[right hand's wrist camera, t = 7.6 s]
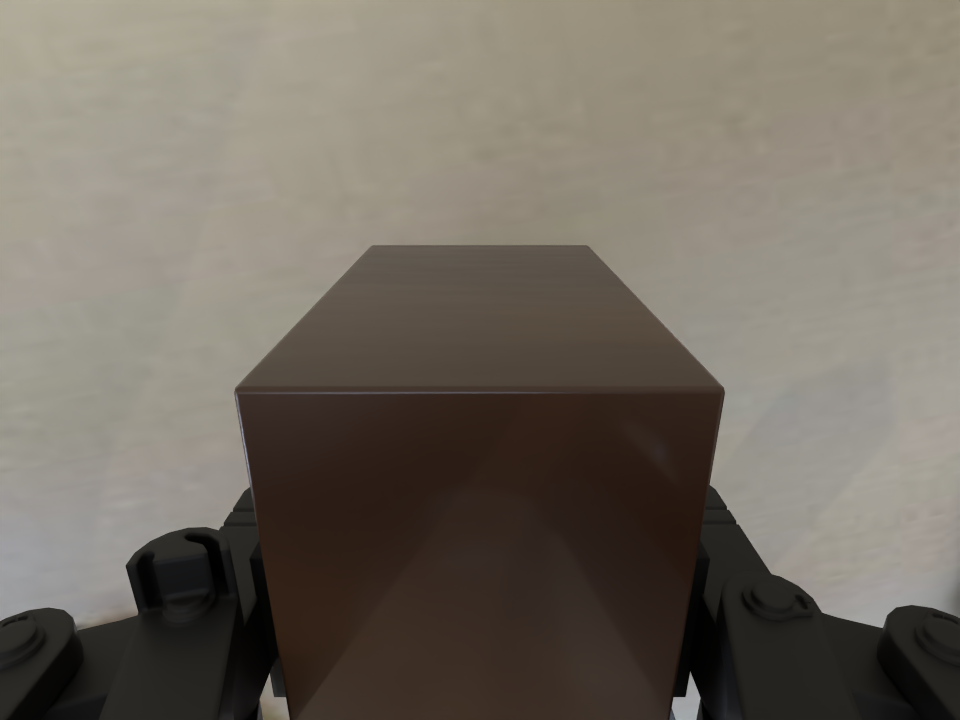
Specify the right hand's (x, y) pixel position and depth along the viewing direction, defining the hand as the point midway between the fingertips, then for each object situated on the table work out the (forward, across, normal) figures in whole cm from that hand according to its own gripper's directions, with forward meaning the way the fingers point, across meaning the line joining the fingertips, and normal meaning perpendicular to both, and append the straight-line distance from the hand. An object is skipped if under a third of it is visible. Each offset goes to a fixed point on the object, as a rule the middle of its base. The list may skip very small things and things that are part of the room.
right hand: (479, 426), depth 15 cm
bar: (0, 0, +8) cm, 9 cm away
